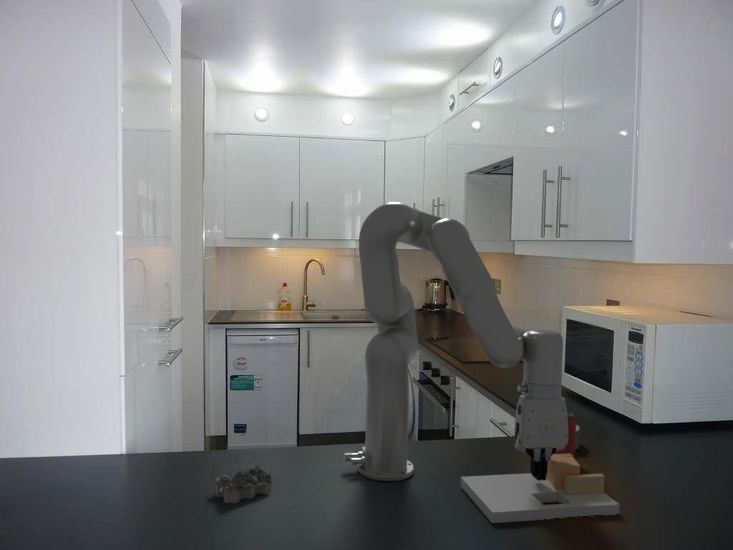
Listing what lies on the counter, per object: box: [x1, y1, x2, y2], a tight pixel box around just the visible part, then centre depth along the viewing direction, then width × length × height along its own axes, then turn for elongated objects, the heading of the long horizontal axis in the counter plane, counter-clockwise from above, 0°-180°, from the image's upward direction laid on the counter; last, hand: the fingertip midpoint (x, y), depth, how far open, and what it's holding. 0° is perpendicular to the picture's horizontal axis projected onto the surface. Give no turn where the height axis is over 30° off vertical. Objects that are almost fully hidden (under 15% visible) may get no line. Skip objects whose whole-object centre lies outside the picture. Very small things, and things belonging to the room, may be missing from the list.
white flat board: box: [460, 454, 620, 524], centre depth 109 cm, size 26×17×6 cm, turn 101°
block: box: [547, 456, 581, 489], centre depth 111 cm, size 5×5×5 cm
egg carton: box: [213, 464, 276, 504], centre depth 108 cm, size 11×8×4 cm
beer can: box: [554, 410, 577, 460], centre depth 129 cm, size 7×7×12 cm
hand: (538, 477), depth 111 cm, fingers closed
